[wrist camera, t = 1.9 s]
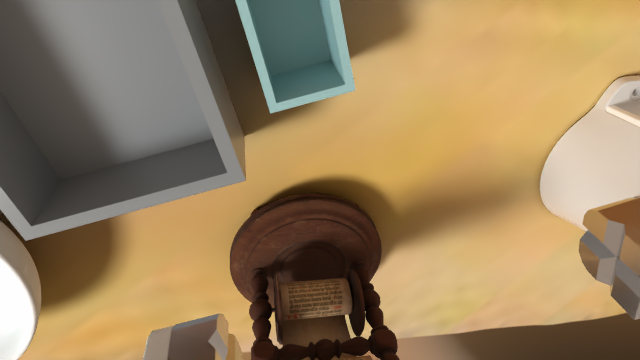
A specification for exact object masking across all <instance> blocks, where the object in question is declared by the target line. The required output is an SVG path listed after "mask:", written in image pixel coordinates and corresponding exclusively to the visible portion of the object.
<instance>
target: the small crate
mask: <svg viewBox="0 0 640 360" xmlns="http://www.w3.org/2000/svg"><path fill="white" fill-rule="evenodd" d="M235 1H236V4H237V7H238V11H239V14H240V17H241V20H242V24H243V27H244V30H245V33H246V37H247V40H248V43H249V46H250V49H251V53H252V56H253V59H254V62H255V66H256V69H257V72H258V75H259V79H260V82H261V85H262V88H263V92H264V95H265V98H266V101H267V105H268V108H269V111H270V113H274V112H278V111H282V110H285V109H289V108H293V107H296V106H300V105H304V104H307V103H311V102H315V101H318V100H322V99H326V98H329V97H333V96H337V95H341V94H344V93H348V92H352V91H355V85H354V80H353V74H352V68H351V63H350V57H349V52H348V46H347V41H346V35H345V30H344V24H343V19H342V13H341V8H340V2H339V0H235Z"/></svg>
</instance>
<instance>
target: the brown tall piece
mask: <svg viewBox="0 0 640 360" xmlns="http://www.w3.org/2000/svg"><path fill="white" fill-rule="evenodd" d="M380 259H381V241H380V237H379V234H378V232H377V229H376V227H375V225H374V223H373V221H372V220H371V218H370V217H369V216H368V214H367V213H366V212H365V211H364V210H362V209H361V208H360V207H359V206H358V205H356V204H354V203H352V202H350V201H348V200H346V199H343V198H341V197H337V196H333V195H328V194H319V193H308V194H299V195H293V196H289V197H285V198H282V199H279V200H277V201H274V202H272V203H270V204H268V205H266V206H264V207H263V208H261V209H260V210H258V209H255V210H253V212H252V213H251V216H250V217H249V218H248V219H247V220H246V221H245V223H244V224H243V225H242V226H241V228H240V229H239V230H238V232H237V234H236V236H235V238H234V240H233V243H232V246H231V251H230V271H231V276H232V279H233V281H234V284H235V286H236V287H237V289H238V290H239V291H240V293H241V294H242V295H243V296H244V297H245V298H246V299H247V300H249V301H250V302H252V304H251V306H250V309H249V314H250V317H251V318H252V319H253V320H254V322H253V326H252V329H253V332H254V335H255V337H256V340H255V341H254V343H253V346H252V348H251V360H372V358H371V356H362V355H364V354H366V353H367V352H368V351H370V352H371V353H372V354H374V355H375V356H376V357H377V358H380V359H381V360H399V358H398V356H397V355H396V352H397V348H398V347H397V340H396V336H395V334H394V333H393V332H392V331H391V330H388V327H387V326H385V325H383V312H382V310H381V309H380V308H378V307H379V305H380V296H379V295H378V293H377V292H376V291H374V286H373V285H372V284H371V283H369V282H370V280H371V279H372V278H373V276H374V274H375V273H376V271H377V268H378V266H379V263H380ZM365 311H366V314H365ZM272 312H275V323H276V334H277V341H278V342H279V344H280V345H281V344H282V343H283V347H282V348H281V349H278V347H277V346H274V345H273V344H272V340H270V339H269V338H268V337H269V334H270V330H271V324H270V321H269V320H268V319H269V318H270V317H271V314H272ZM346 314H349V319H350V323H351V327H352V329H353V332H354V334H355V335H356V336H358V337H354V338H352V339H351V338H350V334H349V331H348V328H347V324H346V320H345V315H346ZM365 316H366V320H367V322H368V323H369V324H370V326H371V327H372V328H373V329H372V330H371V336H369V339H368V340H367V339H365V338H363V337H360V335H361V334H362V332H363V330H364V325H365ZM356 356H361V357H356Z"/></svg>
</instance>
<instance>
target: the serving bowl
mask: <svg viewBox="0 0 640 360" xmlns="http://www.w3.org/2000/svg"><path fill="white" fill-rule="evenodd" d="M40 309H41V285H40V279H39V275H38V272H37V269H36V266H35V264H34V261H33V260H32V258H31V256H30V254H29V252H28V251H27V249H26V248H25V246H24V245H23V243H22V242H21V241H20V240H19V239H18V237H17V236H16V235H15V234H14V233H13V232H12V231H11V230H10V229H9V228H8V227H7V226H6V225H4V224H3V223H2V222H1V221H0V360H18V359H19V358H20V357H21V356H22V354H23V353H24V352H25V351H26V349H27V348H28V346H29V345H30V343H31V341H32V339H33V337H34V334H35V331H36V328H37V324H38V319H39V315H40Z"/></svg>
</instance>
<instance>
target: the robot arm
mask: <svg viewBox="0 0 640 360" xmlns="http://www.w3.org/2000/svg"><path fill="white" fill-rule="evenodd" d="M634 89H635V90H634ZM540 194H541V198H542V201H543V203H544V205H545V206H546V208H547V209H548V210H549V211H550V212H551V213H553V214H554V215H556V216H558V217H560V218H562V219H564V220H566V221H568V222H570V223H572V224H573V225H575V226H577V227H579V228H580V229H582V230H583V231H585V232H586V233H585V234H584V235H583V236H582V238H581V239H580V244H579V253H580V256H581V259H582V262H583V264H584V266H585V267H586V269H587V270H588V272H589V273H590V274H591V275H592V276H593V277H594V278H595V279H596V280H598V281H600V282H603V283H605V284H608V285H610V291H611V296H612V297H613V298H614V299H615V300H616V301H617V302H618V303H619V304H620V305H621V306H622V308H623V309H624V310H625V311H626V312H627V313H628V314H629V315H630V316H631V317H632V318H633V319H634V320H635V319H639V318H640V75H637V76H625V77H621V78H619V79H617V80H615V81H614V82H613V83H612V84H611V85H610V86H609V87H608V88H607V90H606V91H605V92H604V94H603V95H602V96H601V98H600V99H599V101H598V102H597V104H596V105H595V107H594V108H593V109H592V110H591V111H590V112H588V113H587V114H586V115H585V116H584V117H583V118H581V119H580V120H579V121H578V122H577V123H575V124H574V125H573V126H572V127H571V128H570V129H569V130H568V131H567V132H566V133H565V134H564V135H563V136H562V137H561V139H560V140H559V141H558V142H557V144H556V145H555V147H554V148H553V150H552V151H551V153H550V155H549V156H548V158H547V160H546V163H545V165H544V168H543V170H542V174H541V179H540ZM143 360H243V356H242V352H241V349H240V346H239V343H238V341H237V339H236V337H235V336H234V335H231V334H229V333H228V322H227V320H226V319H225V317H224V315H223V314H216V315H212V316H208V317H204V318H200V319H196V320H192V321H188V322H184V323H180V324H176V325H174V326H170V327H166V328H162V329H158V330H154V331H152V332H151V333H150V335H149V337H148V338H147V343H146V347H145V352H144V357H143Z"/></svg>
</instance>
